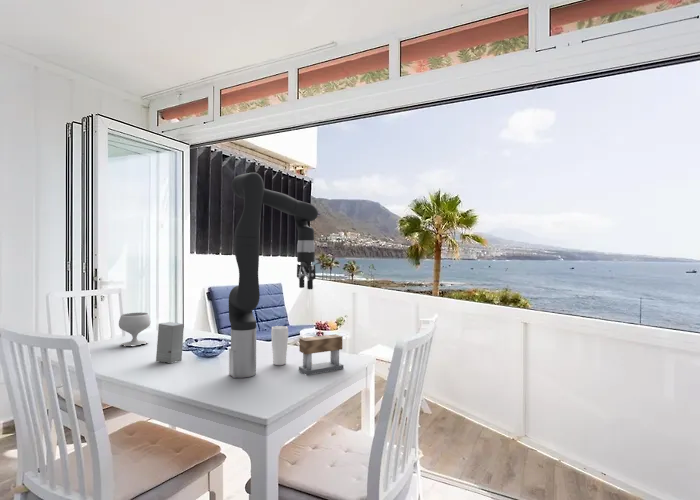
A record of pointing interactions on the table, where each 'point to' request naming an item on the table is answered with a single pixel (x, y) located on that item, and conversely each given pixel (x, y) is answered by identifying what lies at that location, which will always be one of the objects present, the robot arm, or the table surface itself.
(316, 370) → the peg stand
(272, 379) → the table surface
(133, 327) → the chalice
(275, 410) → the table surface
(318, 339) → the brown rectangular block
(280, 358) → the drinking glass
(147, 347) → the table surface
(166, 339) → the skincare box
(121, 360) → the table surface
